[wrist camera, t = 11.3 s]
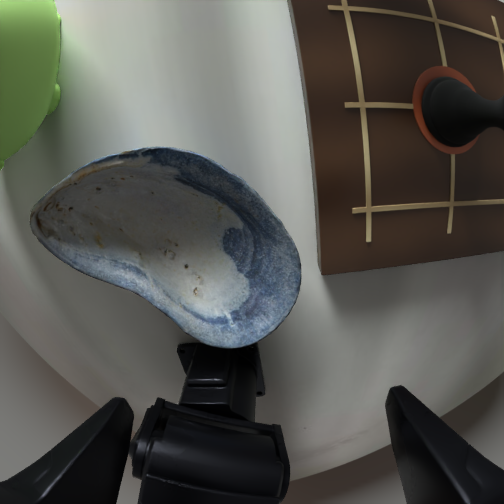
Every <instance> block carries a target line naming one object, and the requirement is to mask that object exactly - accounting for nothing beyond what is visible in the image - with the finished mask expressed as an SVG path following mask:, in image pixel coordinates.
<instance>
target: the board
mask: <svg viewBox="0 0 504 504" xmlns="http://www.w3.org/2000/svg"><path fill="white" fill-rule="evenodd" d="M287 2H288V7H289V12H290V17H291V22H292V27H293V33H294V39H295V44H296V50H297V56H298V63H299V69H300V76H301V82H302V89H303V97H304V104H305V112H306V120H307V128H308V137H309V146H310V156H311V167H312V178H313V190H314V203H315V217H316V233H317V252H318V266H319V269H320V272H321V275H331V274H340V273H348V272H357V271H365V270H373V269H381V268H389V267H397V266H405V265H412V264H419V263H427V262H434V261H441V260H448V259H454V258H461V257H468V256H474V255H480V254H487V253H493V252H499V251H504V131H503V130H502V129H500V128H497V127H490V128H487V129H486V130H485V131H483V132H482V133H481V134H479V135H478V136H477V137H476V138H475V139H474V140H473V141H471V142H469V143H468V144H466V145H464V146H462V147H449V146H446V145H444V144H442V143H440V142H439V141H438V140H437V139H435V138H434V137H433V135H432V134H431V133H430V131H429V130H428V128H427V126H426V124H425V121H424V118H423V115H422V107H421V102H422V96H423V92H424V90H425V88H426V86H427V85H428V84H429V83H430V82H431V81H432V80H433V79H435V78H438V77H443V76H447V77H452V78H455V79H457V80H459V81H460V82H462V83H464V84H466V85H467V86H468V87H470V88H471V89H472V90H473V91H474V92H476V93H477V94H479V95H480V96H481V97H483V98H485V99H487V100H492V101H495V100H498V99H500V98H501V97H502V96H503V95H504V3H503V2H501V1H499V0H287Z"/></svg>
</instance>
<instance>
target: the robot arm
mask: <svg viewBox="0 0 504 504" xmlns="http://www.w3.org/2000/svg"><path fill="white" fill-rule="evenodd" d="M250 346H253V348H250ZM182 349H184V350H182ZM177 353H178V356H179V358H180V361H181V363H182V366H183V368H184V371H185V373H186V379H185V382H184V386H183V389H182V393H181V396H180V400H179V403H178V404H175V403H171V402H168V401H165V399H162V398H159V397H158V398H157V400H156V402H155V404H154V405H152V406H151V408H147V410H146V413H145V416H144V419H143V421H142V424H141V426H140V428H139V429H138V431H137V432H136V434H135V436H134V437H133V439H132V440H131V433H132V427H133V420H134V413H133V410H132V409H131V407H130V405H129V404H128V402H127V400H126V399H125V398H121V397H114V398H112V399H111V400H110V401H109V402H108V403H106V404H105V405H104V406H103V407H102V408H100V409H99V410H98V411H97V412H96V413H95V414H93V415H92V416H91V417H90V418H89V419H87V420H86V421H85V422H84V423H83V424H81V425H80V426H79V427H78V428H77V429H75V430H74V431H73V432H72V433H71V434H69V435H68V436H67V437H66V438H64V440H62V441H61V442H60V443H58V444H57V445H56V446H55V447H54V448H53V449H51V450H50V451H49V452H47V453H46V454H45V455H44V456H42V457H41V458H40V459H38V460H37V461H36V462H35V463H33V464H31V465H30V466H28V467H27V468H25V469H24V470H22V471H21V472H19V473H17V474H16V475H14V476H13V477H11V478H9V479H8V480H5V481H2V482H0V504H116V502H117V498H118V494H119V489H120V485H121V481H122V477H123V473H124V468H125V465H126V461H127V457H128V454H129V456H130V457H131V459H132V466H133V471H132V475H133V477H135V478H138V479H141V480H142V482H141V488H140V493H139V499H138V504H280V503H281V502H282V501H283V499H284V497H285V495H286V493H287V489H288V486H289V481H290V464H289V459H288V455H287V450H286V446H285V442H284V438H283V433H282V429H281V425H277V424H272V425H269V424H263V423H257V422H255V409H256V397H260V396H264V395H265V384H264V378H263V372H262V366H261V360H260V354H259V348H258V344H257V343H254V344H251V345H249V346H246V347H240V348H231V349H227V348H219V347H214V346H210V345H206V344H204V343H182V344H179V345H178V347H177ZM385 408H386V414H387V420H388V426H389V432H390V438H391V444H392V448H393V452H394V455H395V459H396V463H397V467H398V470H399V473H400V478H401V482H402V486H403V490H404V494H405V498H406V502H407V504H504V470H503V469H501V468H500V467H498V466H497V465H495V464H494V463H492V462H491V461H489V460H488V459H487V458H485V457H484V456H483V455H482V454H480V453H479V452H478V451H477V450H476V449H474V448H473V447H472V446H471V445H468V443H467V442H466V441H465V440H464V439H463V438H462V437H461V436H459V435H458V434H457V433H456V432H455V431H454V430H453V429H451V428H450V427H449V426H448V425H447V424H446V423H445V422H444V421H442V420H441V419H440V418H439V417H438V416H437V415H436V414H434V413H433V412H432V411H431V410H430V409H429V408H428V407H426V406H425V405H424V404H423V403H422V402H421V401H420V400H419V399H417V398H416V397H415V396H414V395H413V394H412V393H411V392H409V391H408V390H407V389H406V388H405V387H404V386H402V385H399V386H394V387H391V388H390V390H389V393H388V396H387V399H386V403H385ZM130 440H131V442H130Z"/></svg>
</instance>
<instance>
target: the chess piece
mask: <svg viewBox="0 0 504 504" xmlns="http://www.w3.org/2000/svg"><path fill="white" fill-rule="evenodd" d="M421 107H422V115H423V118H424V121H425V124H426V126H427V128H428V130H429V131H430V133H431V134H432V135H433V137H434V138H435V139H437V140H438V141H439V142H440V143H442V144H444V145H446V146H449V147H462V146H464V145H466V144H468V143H469V142H471V141H473V140H474V139H475V138H476V137H477V136H478V135H479V134H481V133H482V132H483V131H485V130H486V129H487V128H490V127H497V128H500V129H502V130H503V131H504V95H503V96H502V97H501V98H500V99H498V100H495V101H492V100H487V99H485V98H483V97H481V96H480V95H479V94H477V93H476V92H474V91H473V90H472V89H471V88H470V87H468V86H467V85H466V84H464V83H462V82H460V81H459V80H457V79H455V78H452V77H447V76H443V77H438V78H435V79H433V80H432V81H431V82H430V83H429V84H428V85H427V86H426V88H425V90H424V92H423V96H422V102H421Z"/></svg>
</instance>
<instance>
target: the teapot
mask: <svg viewBox="0 0 504 504" xmlns="http://www.w3.org/2000/svg"><path fill="white" fill-rule="evenodd" d="M60 22H61V18H60V15H59V14H58V13H57V9H56V5H55V2H54V0H0V170H1V169H2V168H3V167H4V161H5V160H6V159H8V158H9V157H11V156H12V155H13V154H15V153H16V152H18V151H19V150H20V149H21V148H22V147H23V146H25V145H26V144H27V142H28V141H29V140H30V139H31V138H32V136H33V135H34V134H35V133H36V131H37V130H38V128H39V127H40V125H41V123H42V122H43V120H44V118H45V116H46V114H50V113H52V112H53V111H54V110H55V109H56V108H57V106H58V104H59V101H60V97H61V91H60V87H59V85H58V84H57V83H56V79H57V73H58V67H59V59H60V27H59V26H60Z"/></svg>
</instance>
